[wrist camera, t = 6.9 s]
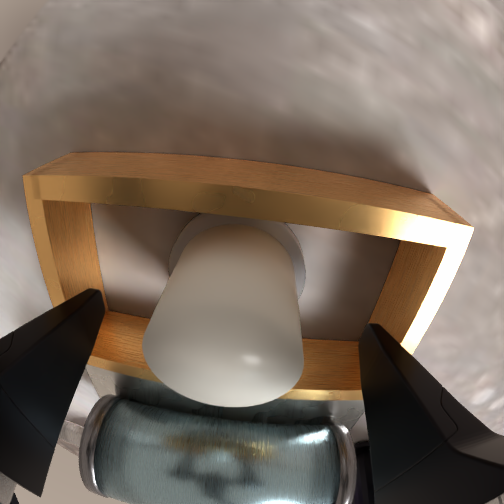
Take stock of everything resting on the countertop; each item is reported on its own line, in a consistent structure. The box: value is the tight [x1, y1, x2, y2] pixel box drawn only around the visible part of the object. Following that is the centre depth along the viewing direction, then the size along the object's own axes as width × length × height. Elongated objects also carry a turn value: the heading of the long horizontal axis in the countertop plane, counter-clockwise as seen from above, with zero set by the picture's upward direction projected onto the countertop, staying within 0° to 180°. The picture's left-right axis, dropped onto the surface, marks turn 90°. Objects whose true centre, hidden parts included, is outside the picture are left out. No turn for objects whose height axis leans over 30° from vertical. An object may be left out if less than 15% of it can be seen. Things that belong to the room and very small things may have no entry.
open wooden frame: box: [23, 152, 474, 504], centre depth 11 cm, size 19×18×8 cm
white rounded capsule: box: [142, 213, 306, 407], centre depth 10 cm, size 5×5×5 cm
